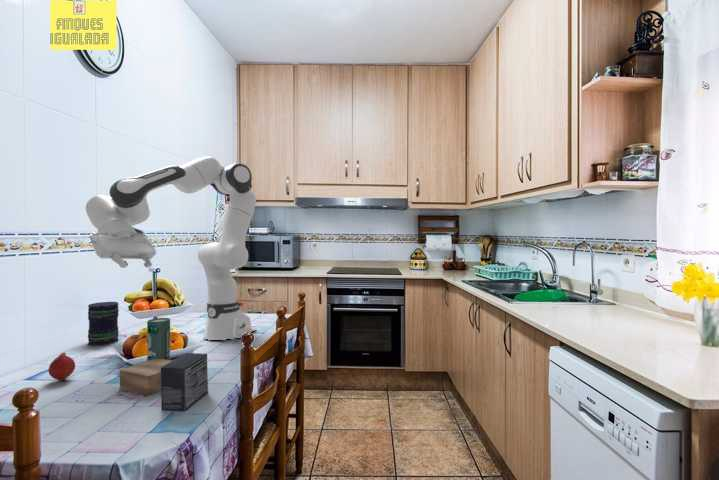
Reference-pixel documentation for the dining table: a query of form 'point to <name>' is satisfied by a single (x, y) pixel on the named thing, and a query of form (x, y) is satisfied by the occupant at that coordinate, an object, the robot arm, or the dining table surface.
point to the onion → (61, 367)
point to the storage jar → (103, 323)
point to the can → (158, 338)
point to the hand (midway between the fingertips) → (137, 266)
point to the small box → (184, 382)
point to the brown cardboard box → (143, 377)
